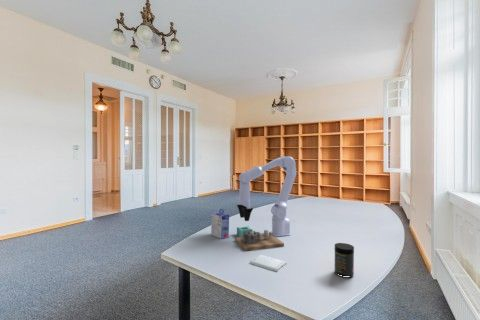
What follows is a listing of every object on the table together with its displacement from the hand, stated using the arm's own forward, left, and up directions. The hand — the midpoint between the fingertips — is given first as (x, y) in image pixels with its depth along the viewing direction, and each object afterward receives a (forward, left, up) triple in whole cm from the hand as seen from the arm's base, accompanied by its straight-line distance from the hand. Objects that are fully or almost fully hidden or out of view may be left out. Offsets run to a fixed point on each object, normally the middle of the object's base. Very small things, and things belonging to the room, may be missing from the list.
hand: (244, 219), depth 134 cm
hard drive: (+2, +36, -10) cm, 37 cm away
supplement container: (-21, +53, -9) cm, 57 cm away
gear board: (-3, +14, -9) cm, 17 cm away
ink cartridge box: (+13, -3, -9) cm, 16 cm away
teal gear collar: (0, 0, -9) cm, 9 cm away
